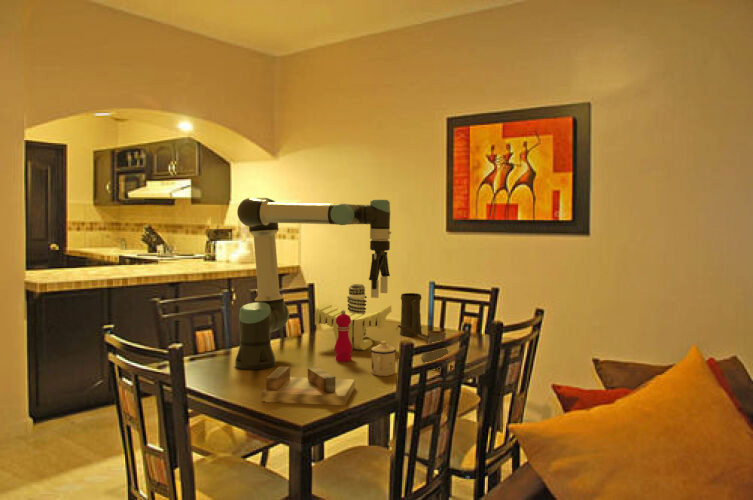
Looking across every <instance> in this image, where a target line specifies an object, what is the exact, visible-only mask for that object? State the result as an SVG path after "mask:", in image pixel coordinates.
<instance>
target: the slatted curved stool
mask: <svg viewBox="0 0 753 500" xmlns="http://www.w3.org/2000/svg"><path fill="white" fill-rule="evenodd" d="M341 311H342V309H340V308H339V309H338V307H336V306H334V305H332V304H331V303H330V302H326V303H323V304H321V305H318V306H317V307H316V308H315V311H314V325H315V326H317V325H320V324H321V325H327V326H329V327H330V328H332V330H333V333H334V337H335V343H336V342H337V339H338V330H337V326H338V325H337V323H336V318H337V316H338V315H340V314H341ZM344 311H345V312H346V313H345V314H347V315H349V316H350V318H351V323H350V324H349V326H350V327H349V329H350V330H349V332H348V335H349V339H350V342H351V344H352V350H360V351H362V350H363V351H366V349H368V348H370V347H371V346H373V344H374V343H373V341H372V339H370V338H369V339H368V338H363V335H364V332H366V331H367V330H366V329H367V328H370V327H371V328H376V327H377V328H378V329H384V328H385V323H386V318H387V316H389V314H390V313H391V312H392V305H389V306H388V307H385V308H384V309H381V310H378V311H376V312H370V313H365V314H364V315H363V314H354V315H353V313H349V312H348V311H346V310H344ZM365 330H366V331H365Z"/></svg>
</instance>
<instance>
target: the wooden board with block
mask: <svg viewBox="0 0 753 500" xmlns="http://www.w3.org/2000/svg"><path fill="white" fill-rule="evenodd" d="M290 369H291V367H290V366H278V367H277V368H276V369H275V370H273V371H272V373H270V374H269V375H268V376H267V377H266V378H265V379H266V380H265V382H266V383H265V384H266V387H265V389H264V390H263V391H262V392H261V401H265V402H264V403H276V402H282V403H281V404H299V405H301V404H302V405H303V404H304V405H322V406H323V405H324V406H326V405H328V406H346V404H347V403H348V401H349V398H351V395H352V394H353V392H354V390H355V387H356V386H355V385H356V384H355V382H356V381H355V379H348V378H347V379H346V378H335V386H336V391H335V392H333V393H328V392H326V391H323V390H322V389H320V388H319V387H317V386H316V385H314V384H313V383H311V382H310V381H308V377H299V376H298V377H297V376H296V377H295V376H291V372H290V371H291V370H290Z"/></svg>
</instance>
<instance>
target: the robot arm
mask: <svg viewBox="0 0 753 500" xmlns="http://www.w3.org/2000/svg"><path fill="white" fill-rule="evenodd" d="M236 211H237V218H238V220H239V221H240V222H241V224H243V225H244V226H246V227H248V231H249V234H250V235H252V236H253V245H254V259H255V271H256V272H255V273H256V281H257V282H256V284H257V285H256V286H257V297H255V298H254V302H251V303H247V304H244V305H242V306H241V307H240V309H239V315H238V319H239V320H238V321H239V324H238V325H239V348H238V349H237V354H236V356H235V360H234V361H235V362H234V363H235V365H234V366H235V368H237V367H238V368H237V369H239V368H241V369H240V370H245V369H248V370H250V371H253V370H254V371H255V370H265V369H270V368H272V367H274V366H276V357H275V354H274V351H273V348H272V343H271V333H272V332H277V331H279V330H280V329H282V328H283V327H284V326H285V325H286V324H288V323H287V322H288V320H289V318H290V310H289V307H288V305H286V304H285V299H284V296H283V295H281V292H280V284H279V282H280V280H279V271H278V270H279V269H278V255H277V243H276V235H277V233H278V232H279V224H305V225H306V224H307V225H309V224H311V225H313V224H315V225H337V226H338V225H339V226H346V225H369V226H370V227H369V228H370V229H369V238H370V242H369V250H370V251H374V253H372V254H371V264H370V269H369V271H370V272H369V276H368V281H370V298H372V299H374V298H375V299H379V293H380V294H388V282H389V281H388V279H389V278H388V277H390V276H391V275H390V274H391V273H390V271H389V261H388V251H390V249H391V248H390V247H391V246H390V245H391V241H390V237H391V235H392V234H391V233H392V231H391V229H390V228H391V203H390V200H388V199H371V200H370V203H369V204H352V203H351V204H348V203H301V202H300V203H299V202H298V203H297V202H277V201H275V200H274V199H271V198H269V197H251V196H250V197H247V198H245V199H243V200H242V201H241V202H240V203H239V205H238V206H237V210H236ZM380 275H381V276H380ZM379 276H380V280H379ZM379 281H380V282H379ZM379 283H380V285H379ZM379 286H380V287H379ZM379 290H380V291H379ZM248 370H247V371H248Z"/></svg>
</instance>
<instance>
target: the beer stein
mask: <svg viewBox="0 0 753 500" xmlns="http://www.w3.org/2000/svg"><path fill="white" fill-rule="evenodd" d="M400 300H401V307H400V308H401V313H400V326H402V327H405V328H407V329H410V330H412V331H414V332H416V333H418V334H419V335H421V336H423V335H422V334H423V331H422V323H421V322H422V319H421V316H422V315H421V301H422V294H420V293H415V292H414V293H413V292H410V293H408V292H406V293H401V295H400ZM399 328H400V327H399ZM399 335H400V336H404V337H417V336H416V335H414V334H411V333H409V332H407V331H406V330H404V329H402V328H400V330H399Z"/></svg>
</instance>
